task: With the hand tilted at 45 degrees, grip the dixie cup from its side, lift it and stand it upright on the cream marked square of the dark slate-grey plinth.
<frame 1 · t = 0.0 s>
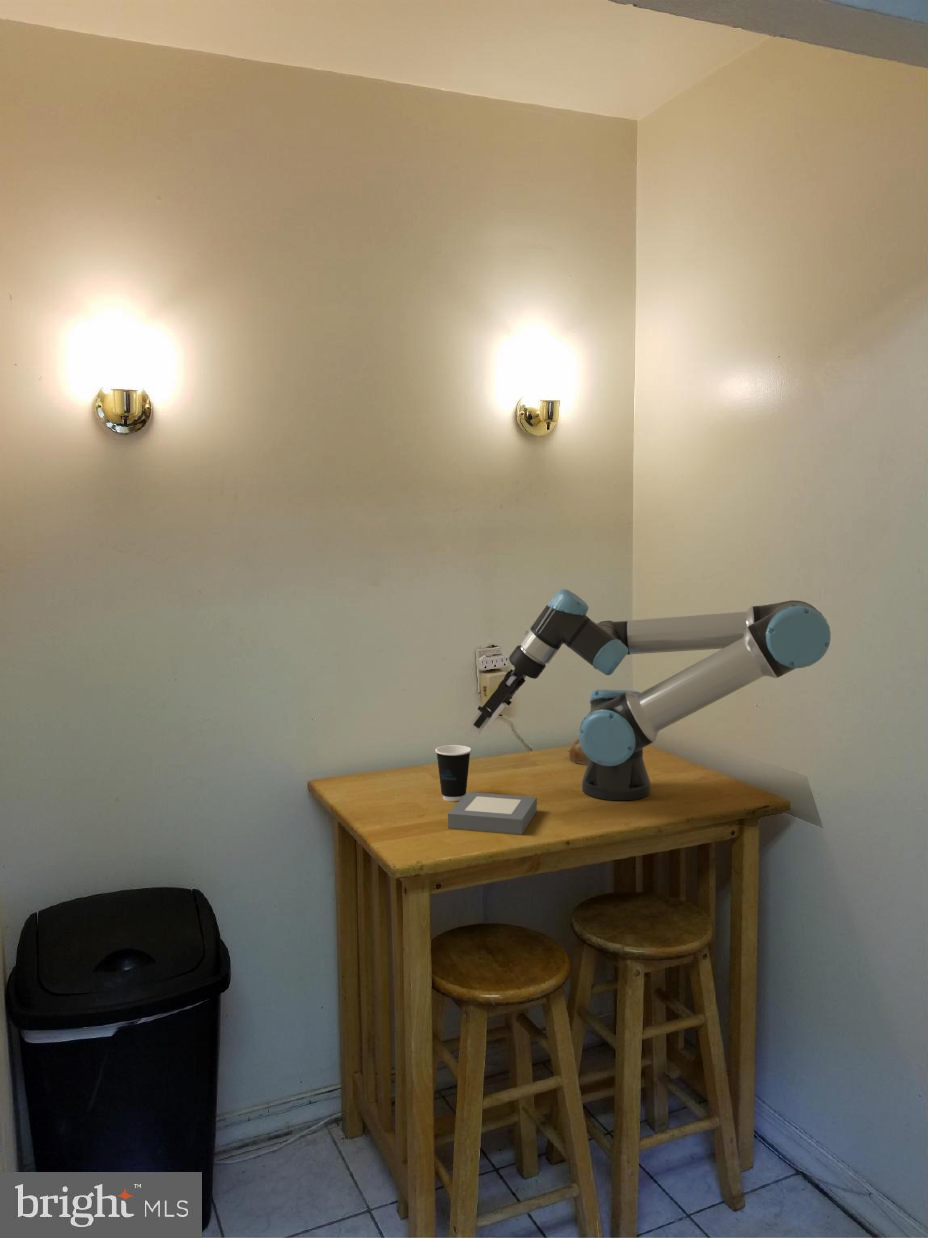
hand: (476, 730, 201), 15 cm above the table, tool tilted 35°, fingers open, 13 cm apart
dixie cup: (453, 798, 204), on the table
plinth: (493, 819, 189), on the table
bread roll: (587, 761, 235), on the table
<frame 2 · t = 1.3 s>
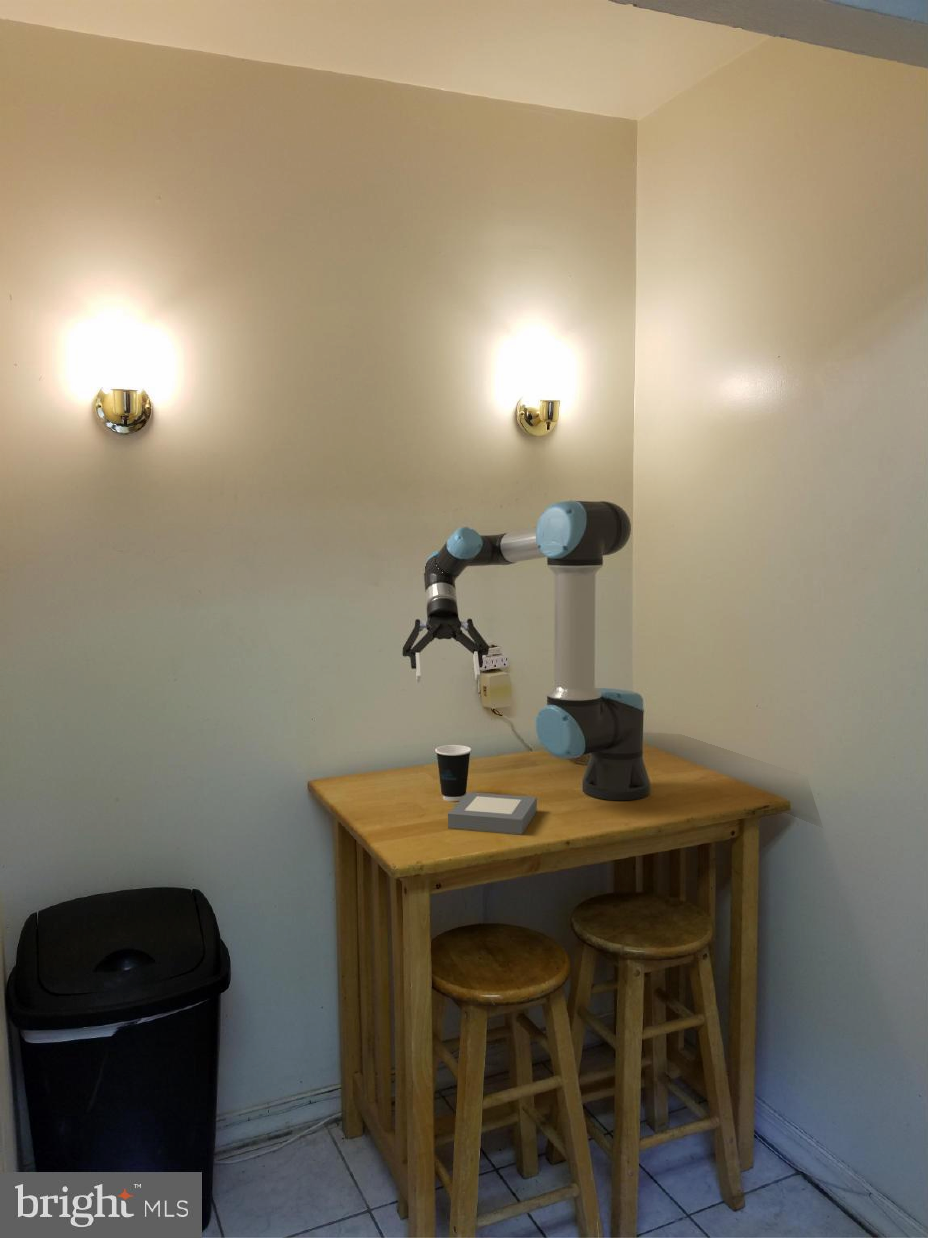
hand: (448, 678, 211), 25 cm above the table, tool tilted 45°, fingers open, 13 cm apart
nothing on the table moved.
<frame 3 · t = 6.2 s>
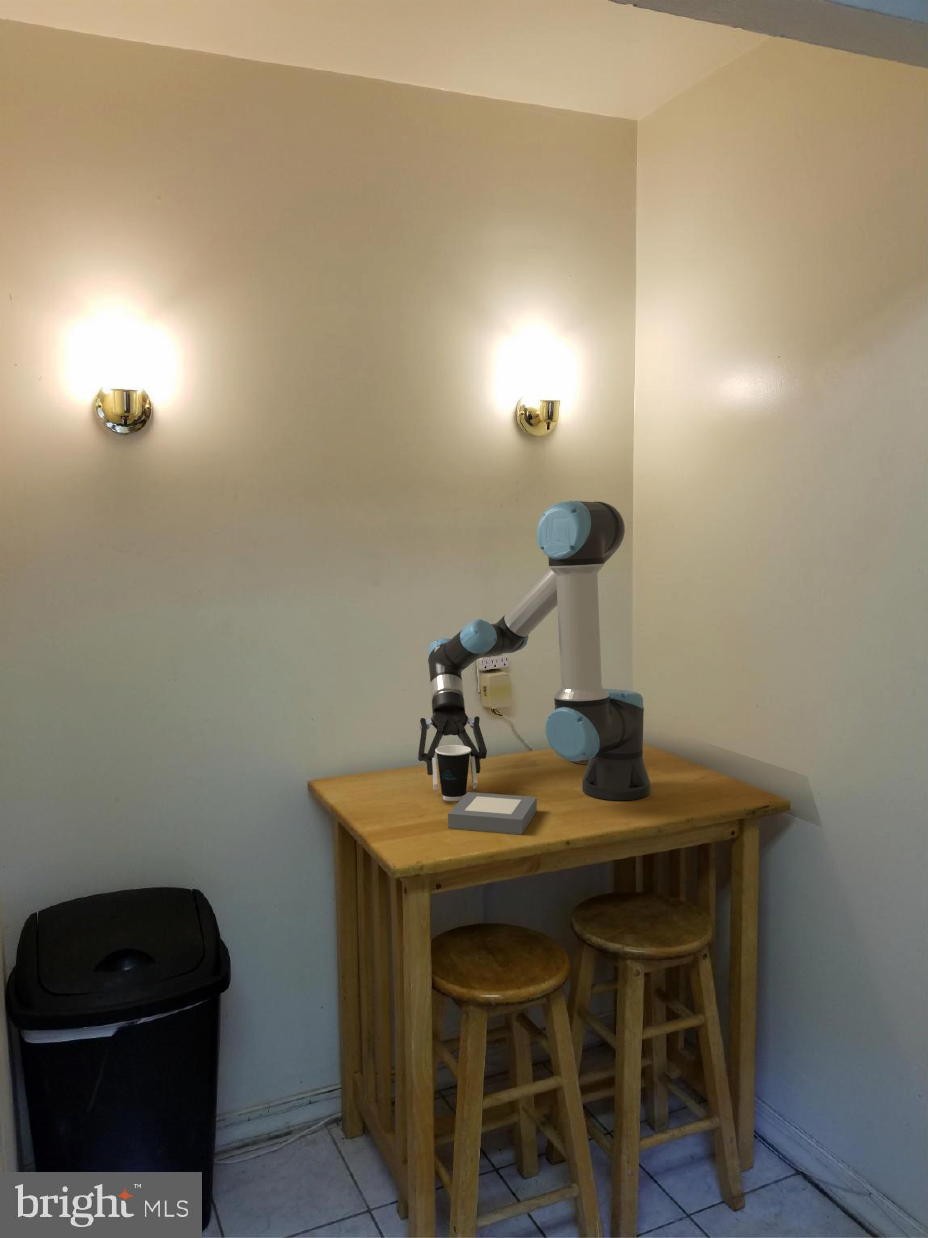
hand: (455, 786, 200), 4 cm above the table, tool tilted 45°, fingers closed on dixie cup, 8 cm apart
dixie cup: (453, 798, 204), on the table, touching gripper
everything else where it was.
when the fingers open (8 cm above the table, at t = 12.0 s): dixie cup drops 1 cm, resting on plinth.
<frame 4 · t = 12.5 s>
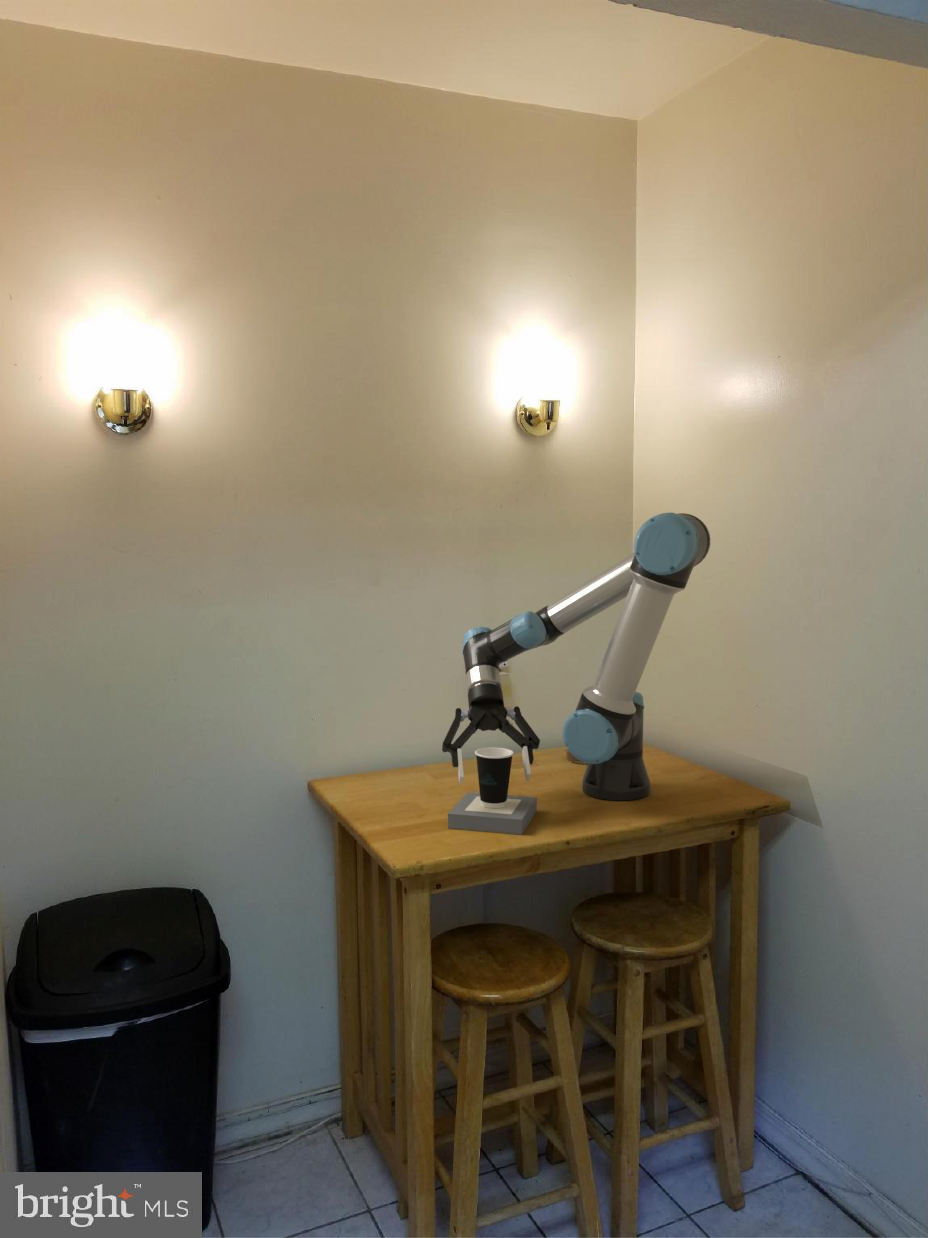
hand: (495, 778, 186), 9 cm above the table, tool tilted 45°, fingers open, 13 cm apart
dixie cup: (493, 805, 189), point 3 cm above the table, touching plinth
everything else where it was.
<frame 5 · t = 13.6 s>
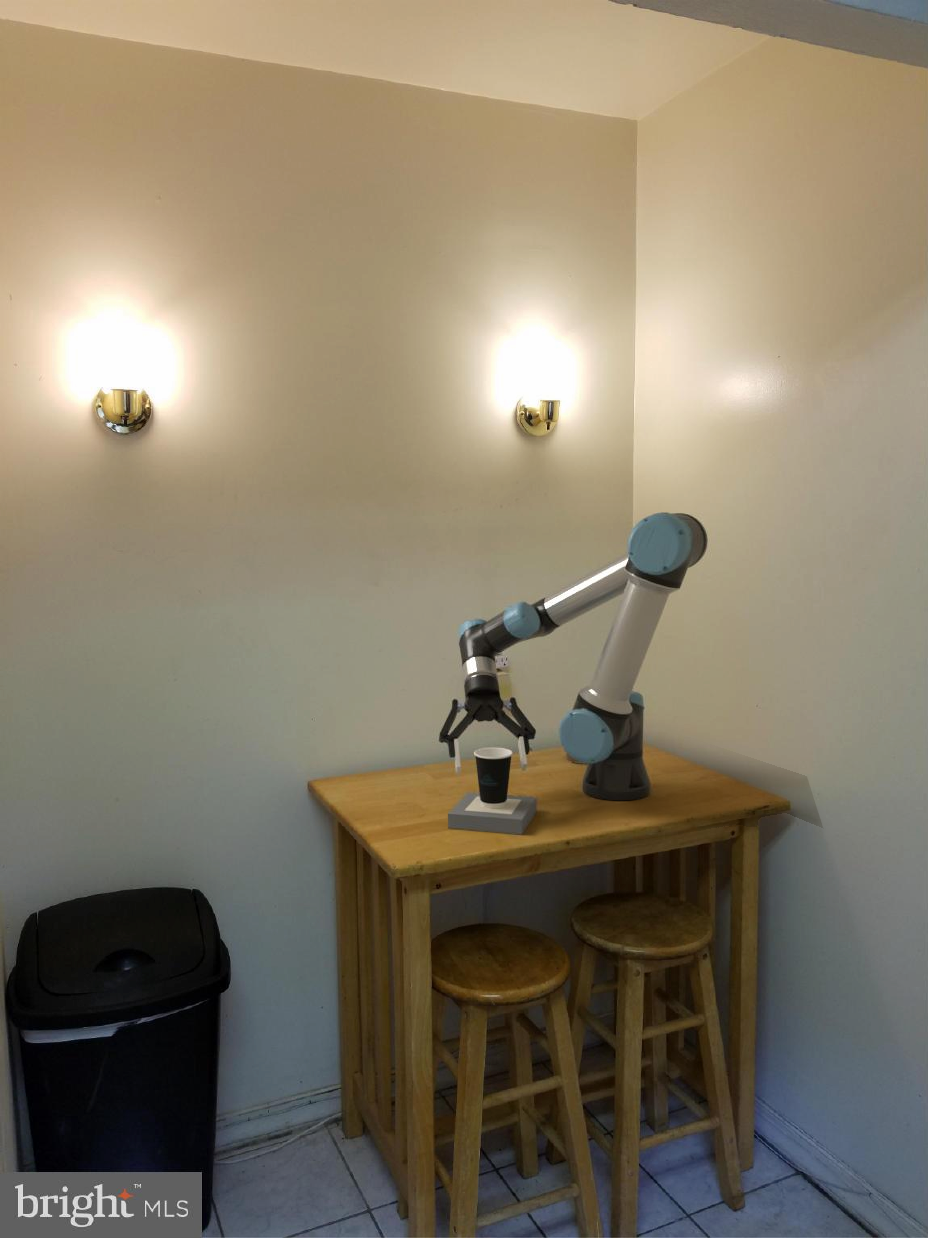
hand: (491, 768, 188), 11 cm above the table, tool tilted 45°, fingers open, 13 cm apart
nothing on the table moved.
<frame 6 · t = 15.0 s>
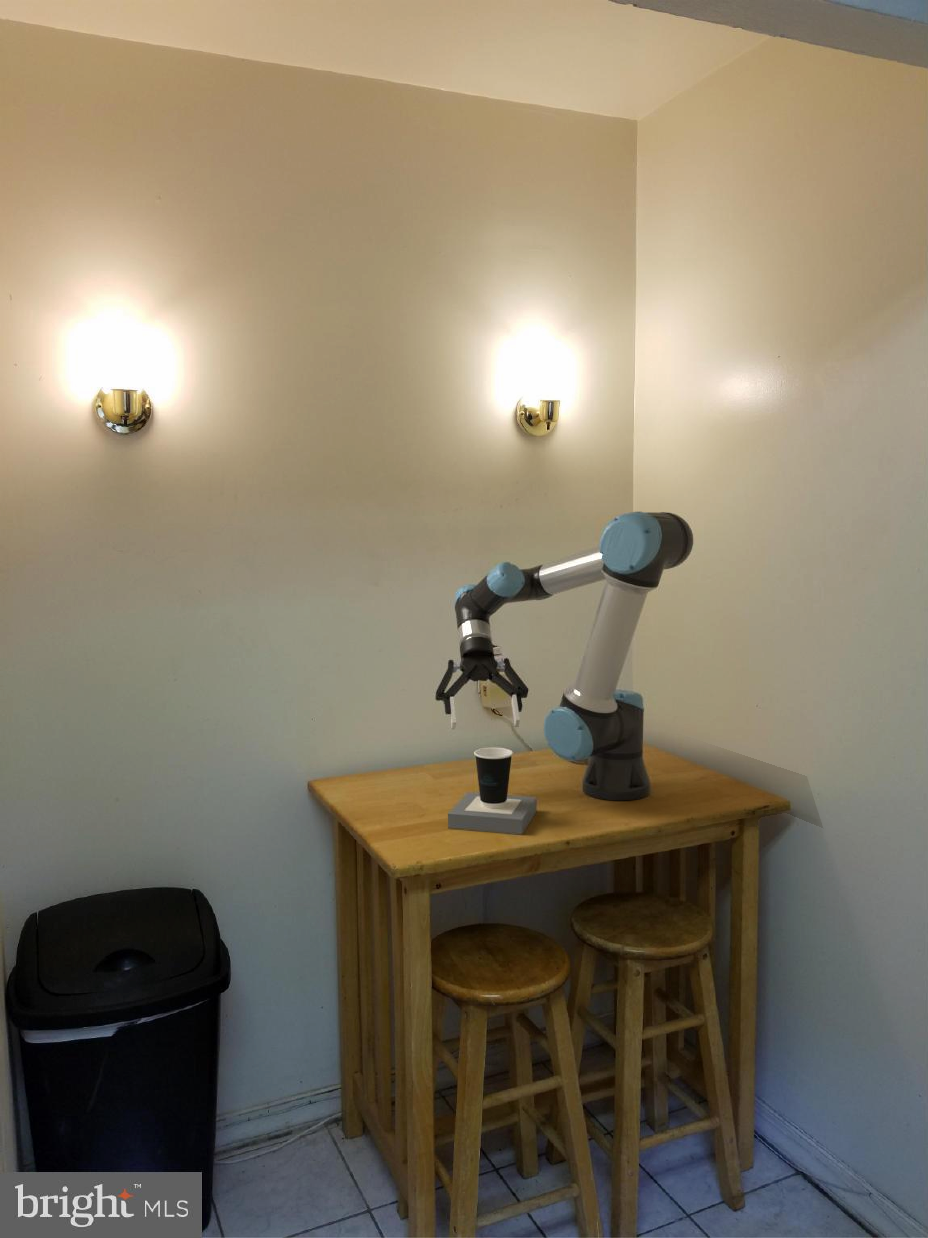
hand: (485, 724, 196), 18 cm above the table, tool tilted 45°, fingers open, 13 cm apart
nothing on the table moved.
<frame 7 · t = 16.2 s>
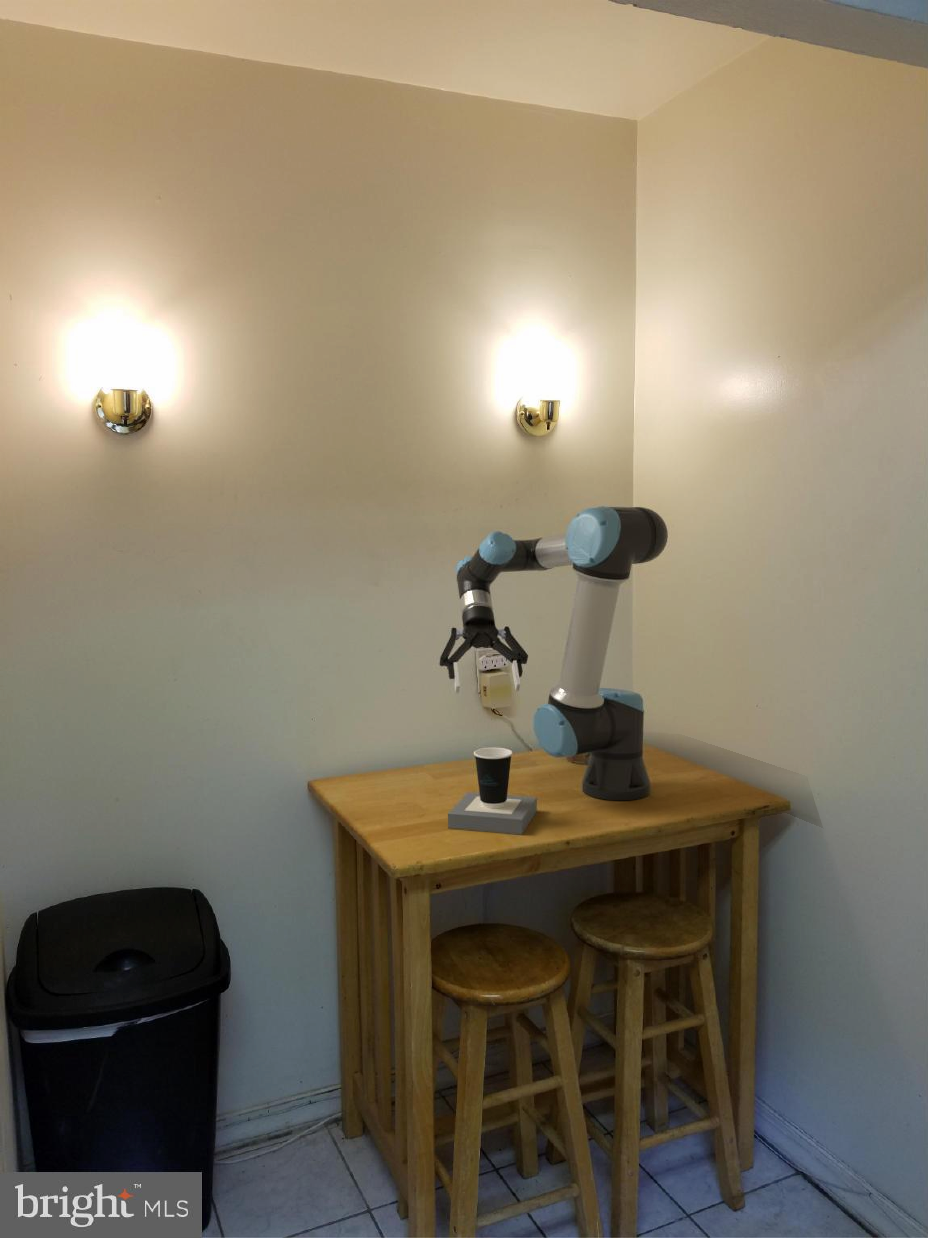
hand: (487, 688, 205), 24 cm above the table, tool tilted 45°, fingers open, 13 cm apart
nothing on the table moved.
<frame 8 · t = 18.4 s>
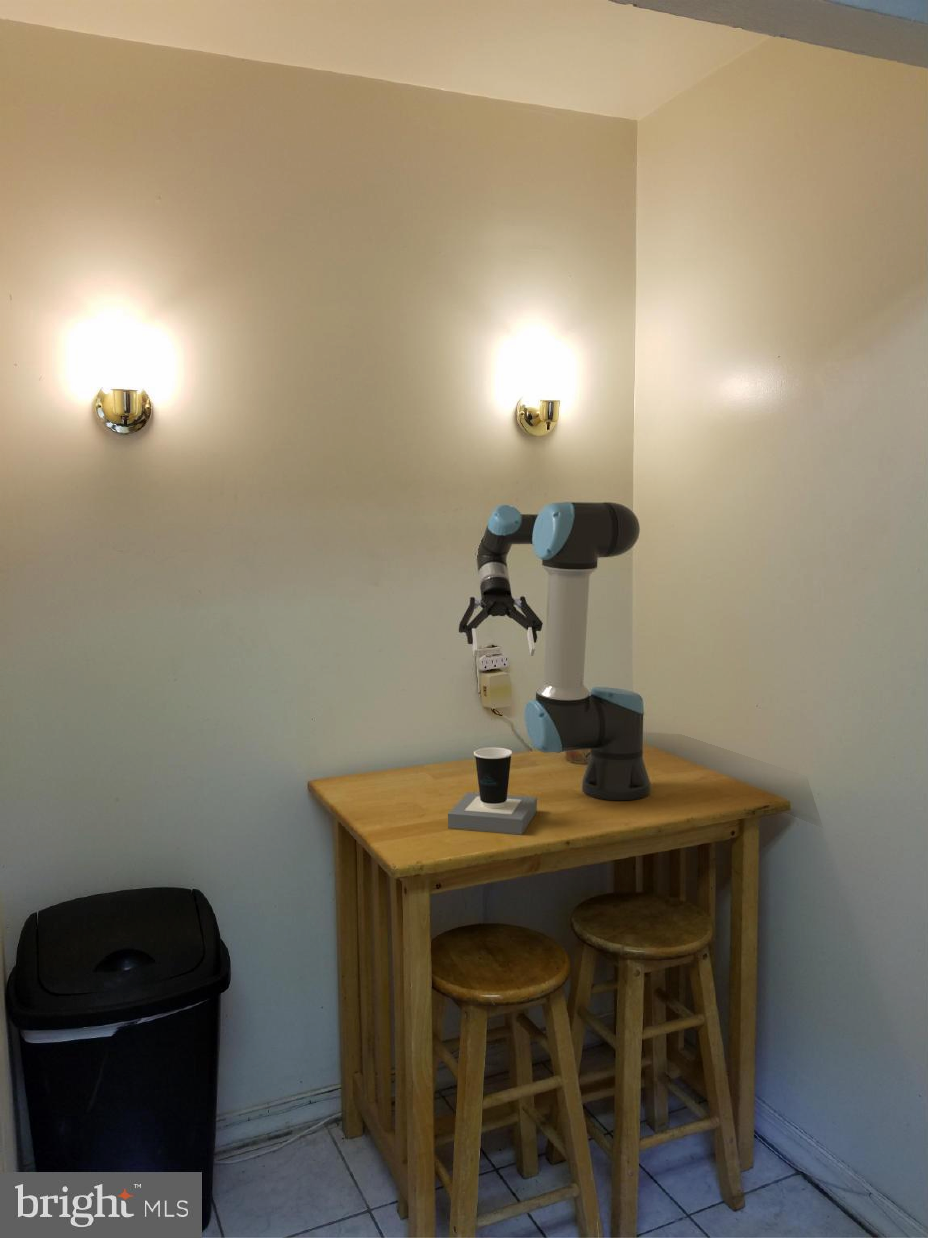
hand: (504, 653, 218), 30 cm above the table, tool tilted 45°, fingers open, 13 cm apart
at the end: dixie cup inside the target area on the plinth (0.1 cm from its centre), point 2.9 cm above the plinth's base; dixie cup tilted 0°; the gripper is holding nothing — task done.
